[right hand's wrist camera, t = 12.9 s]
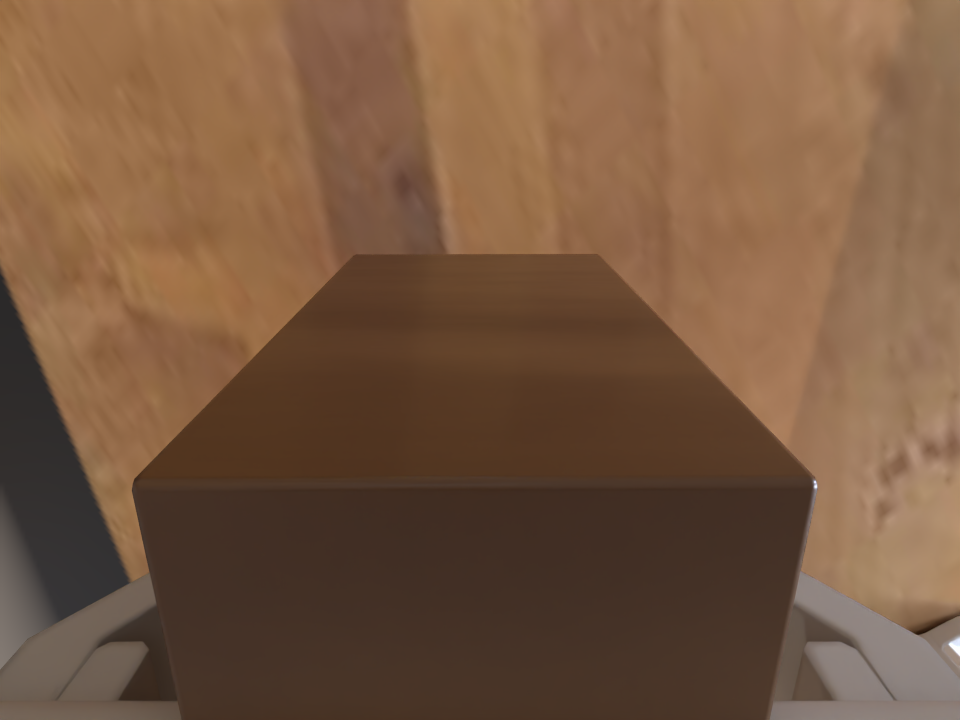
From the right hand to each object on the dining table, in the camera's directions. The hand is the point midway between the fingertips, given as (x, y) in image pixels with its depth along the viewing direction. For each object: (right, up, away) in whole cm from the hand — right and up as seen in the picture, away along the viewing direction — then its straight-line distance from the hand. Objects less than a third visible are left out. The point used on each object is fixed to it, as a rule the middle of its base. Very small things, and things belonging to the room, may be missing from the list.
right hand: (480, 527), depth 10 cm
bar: (0, -8, +6) cm, 10 cm away
